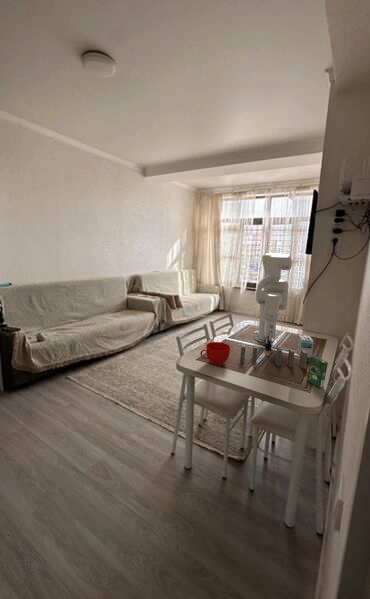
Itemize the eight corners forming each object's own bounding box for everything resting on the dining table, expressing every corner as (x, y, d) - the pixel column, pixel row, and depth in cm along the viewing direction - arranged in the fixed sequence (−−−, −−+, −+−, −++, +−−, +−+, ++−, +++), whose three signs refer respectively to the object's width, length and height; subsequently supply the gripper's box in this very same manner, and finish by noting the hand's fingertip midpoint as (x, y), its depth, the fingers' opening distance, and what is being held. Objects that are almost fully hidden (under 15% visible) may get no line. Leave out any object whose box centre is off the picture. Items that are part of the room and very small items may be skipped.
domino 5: (288, 367, 154) (290, 351, 152) (287, 363, 158) (289, 348, 157) (292, 367, 153) (294, 352, 152) (290, 363, 158) (292, 348, 156)
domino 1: (240, 362, 157) (241, 346, 156) (240, 358, 162) (241, 343, 161) (244, 362, 157) (245, 347, 155) (243, 359, 162) (245, 344, 160)
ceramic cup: (194, 361, 156) (195, 343, 154) (221, 357, 163) (222, 340, 161) (205, 370, 145) (206, 352, 143) (233, 366, 151) (234, 349, 149)
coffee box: (324, 387, 132) (328, 361, 130) (320, 388, 131) (323, 362, 129) (311, 380, 140) (314, 355, 137) (306, 380, 139) (310, 355, 136)
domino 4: (276, 365, 155) (278, 350, 153) (275, 362, 159) (276, 347, 158) (280, 366, 154) (282, 350, 153) (278, 362, 159) (280, 347, 157)
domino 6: (301, 368, 153) (303, 352, 151) (299, 364, 158) (301, 349, 156) (305, 368, 152) (307, 353, 151) (303, 365, 157) (305, 349, 155)
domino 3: (265, 355, 154) (267, 339, 153) (264, 351, 159) (265, 336, 157) (269, 355, 154) (270, 339, 152) (268, 352, 159) (269, 336, 157)
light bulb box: (311, 358, 168) (314, 341, 165) (299, 357, 169) (302, 339, 167) (307, 351, 178) (310, 335, 176) (296, 350, 179) (298, 334, 177)
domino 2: (252, 363, 156) (253, 348, 155) (251, 359, 161) (253, 344, 160) (256, 363, 156) (257, 348, 154) (255, 360, 161) (256, 345, 159)
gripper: (280, 321, 144) (276, 355, 147) (275, 313, 160) (272, 344, 164) (265, 320, 145) (261, 353, 148) (261, 312, 161) (258, 343, 165)
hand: (267, 348), depth 156 cm, fingers closed on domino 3, 4 cm apart
